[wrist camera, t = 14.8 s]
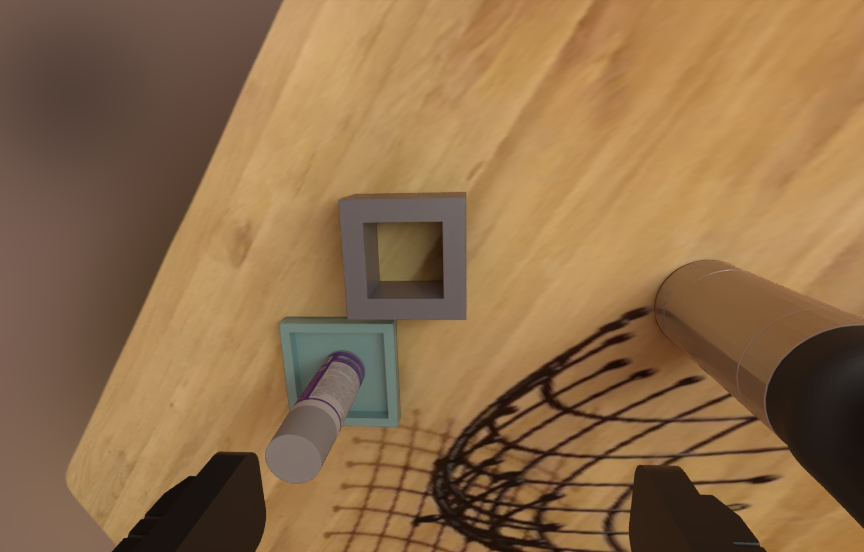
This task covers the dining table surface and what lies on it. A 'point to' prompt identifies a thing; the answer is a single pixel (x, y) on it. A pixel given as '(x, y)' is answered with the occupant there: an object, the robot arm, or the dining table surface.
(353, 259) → the bay
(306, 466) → the container
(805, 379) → the robot arm
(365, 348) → the tray
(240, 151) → the dining table surface
